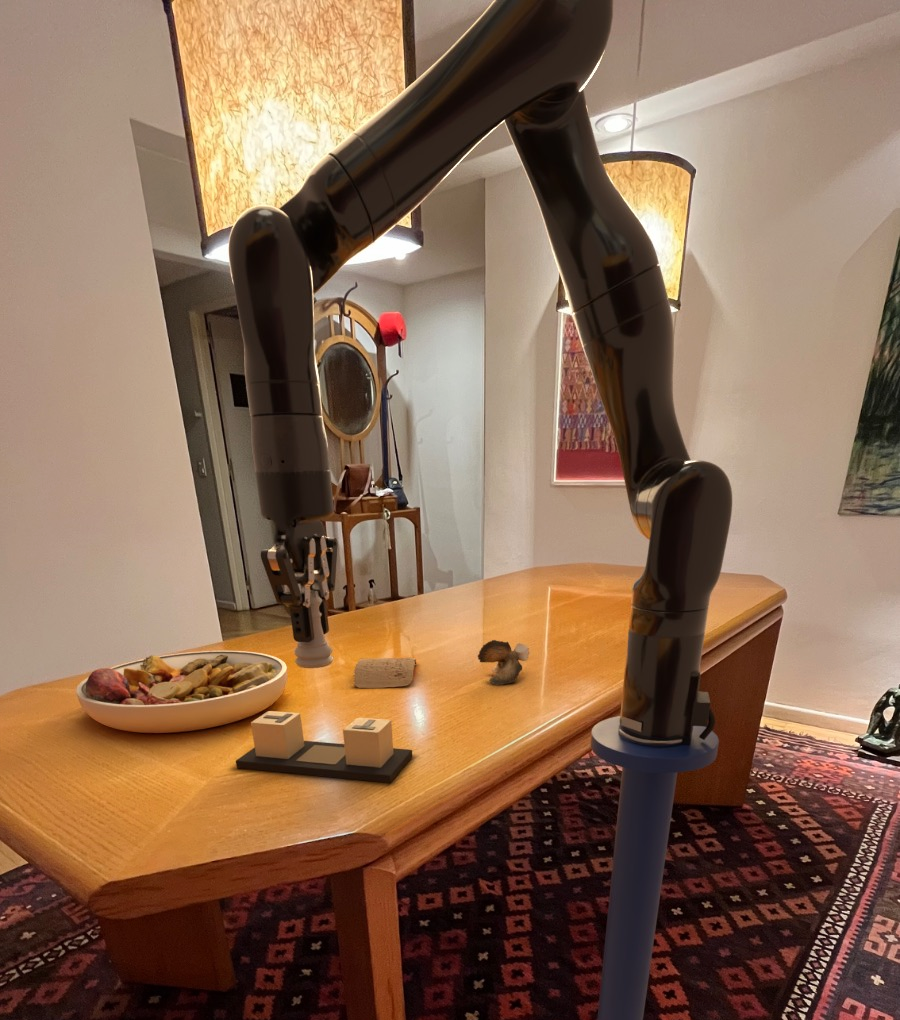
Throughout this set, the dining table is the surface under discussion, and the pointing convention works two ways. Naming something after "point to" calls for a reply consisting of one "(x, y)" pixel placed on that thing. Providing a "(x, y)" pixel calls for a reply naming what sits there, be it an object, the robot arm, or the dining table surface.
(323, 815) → the dining table surface
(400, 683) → the clay tablet
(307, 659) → the rook chess piece
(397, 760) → the word mat
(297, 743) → the tile
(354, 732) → the tile
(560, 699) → the dining table surface
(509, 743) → the dining table surface
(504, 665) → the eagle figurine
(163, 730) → the bowl
